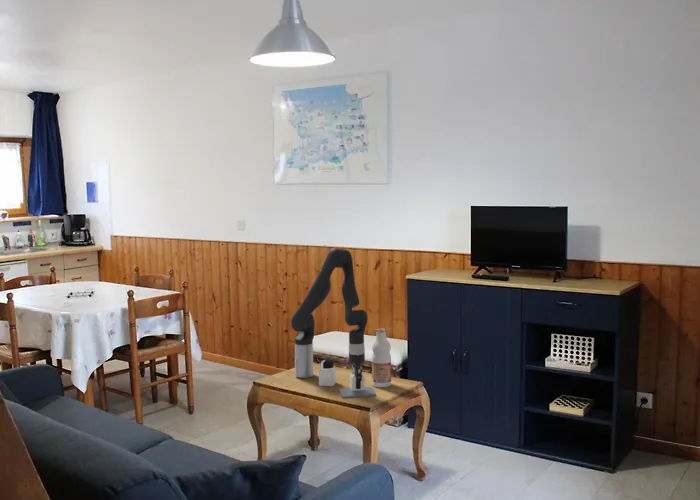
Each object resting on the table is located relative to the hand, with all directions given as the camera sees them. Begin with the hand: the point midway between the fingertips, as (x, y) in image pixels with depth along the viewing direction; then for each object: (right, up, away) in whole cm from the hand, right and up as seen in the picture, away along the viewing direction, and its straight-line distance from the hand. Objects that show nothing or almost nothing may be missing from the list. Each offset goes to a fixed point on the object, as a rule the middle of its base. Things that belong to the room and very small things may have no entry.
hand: (357, 386), depth 308 cm
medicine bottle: (-15, -2, +15) cm, 21 cm away
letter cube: (0, -1, 0) cm, 1 cm away
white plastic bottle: (+12, -2, +12) cm, 18 cm away
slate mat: (0, -3, 0) cm, 3 cm away
